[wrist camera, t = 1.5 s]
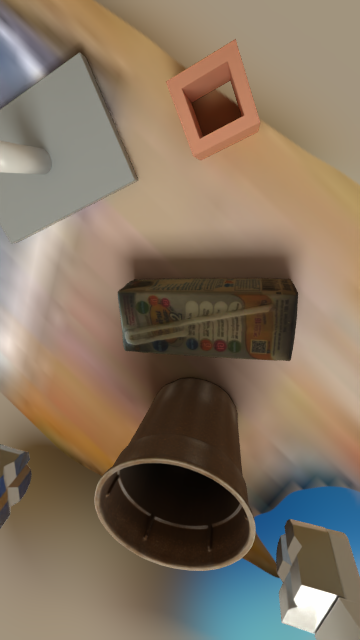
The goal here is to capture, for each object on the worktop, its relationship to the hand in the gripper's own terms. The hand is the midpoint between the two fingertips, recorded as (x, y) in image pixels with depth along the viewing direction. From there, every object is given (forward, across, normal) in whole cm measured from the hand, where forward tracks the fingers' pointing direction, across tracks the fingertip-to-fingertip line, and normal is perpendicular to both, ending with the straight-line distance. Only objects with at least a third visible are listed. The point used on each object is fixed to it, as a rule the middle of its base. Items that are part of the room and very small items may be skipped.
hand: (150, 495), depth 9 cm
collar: (+29, +3, -15) cm, 33 cm away
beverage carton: (+30, 0, +5) cm, 30 cm away
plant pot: (+29, 0, +22) cm, 37 cm away
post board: (+29, +21, -8) cm, 37 cm away
